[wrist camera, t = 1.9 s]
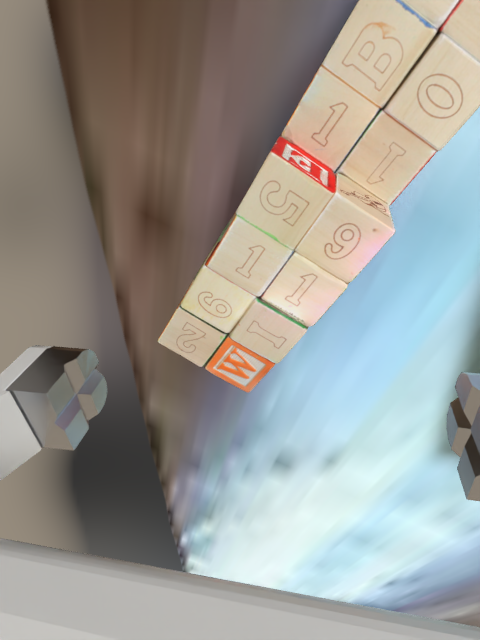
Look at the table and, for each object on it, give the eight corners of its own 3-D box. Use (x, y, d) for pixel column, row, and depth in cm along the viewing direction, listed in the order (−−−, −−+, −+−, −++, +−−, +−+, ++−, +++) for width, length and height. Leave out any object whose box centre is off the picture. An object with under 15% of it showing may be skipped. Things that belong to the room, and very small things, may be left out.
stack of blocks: (401, -70, 19) (472, -195, 9) (495, 9, 20) (649, -28, 10) (210, 252, 32) (153, 344, 22) (273, 292, 33) (247, 398, 23)
